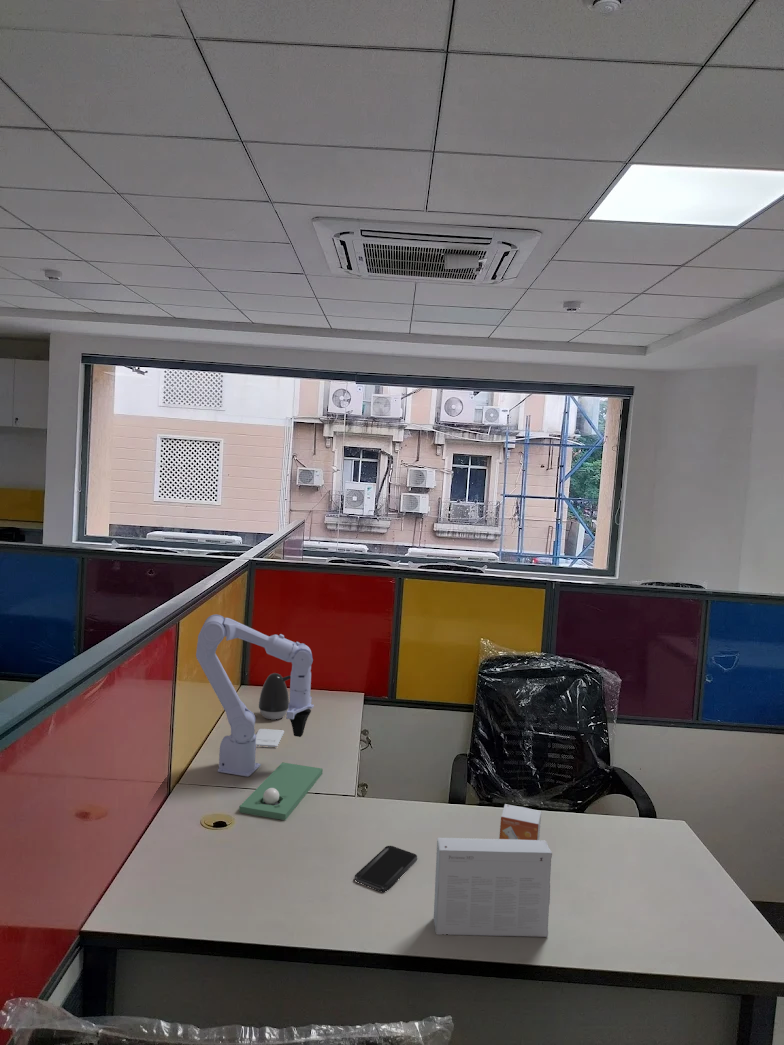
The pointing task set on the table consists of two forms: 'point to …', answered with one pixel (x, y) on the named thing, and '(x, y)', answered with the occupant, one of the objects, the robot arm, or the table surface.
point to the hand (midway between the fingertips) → (298, 735)
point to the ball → (271, 796)
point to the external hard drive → (268, 737)
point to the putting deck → (282, 791)
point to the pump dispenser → (274, 697)
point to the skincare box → (492, 887)
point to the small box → (520, 823)
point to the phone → (386, 868)
